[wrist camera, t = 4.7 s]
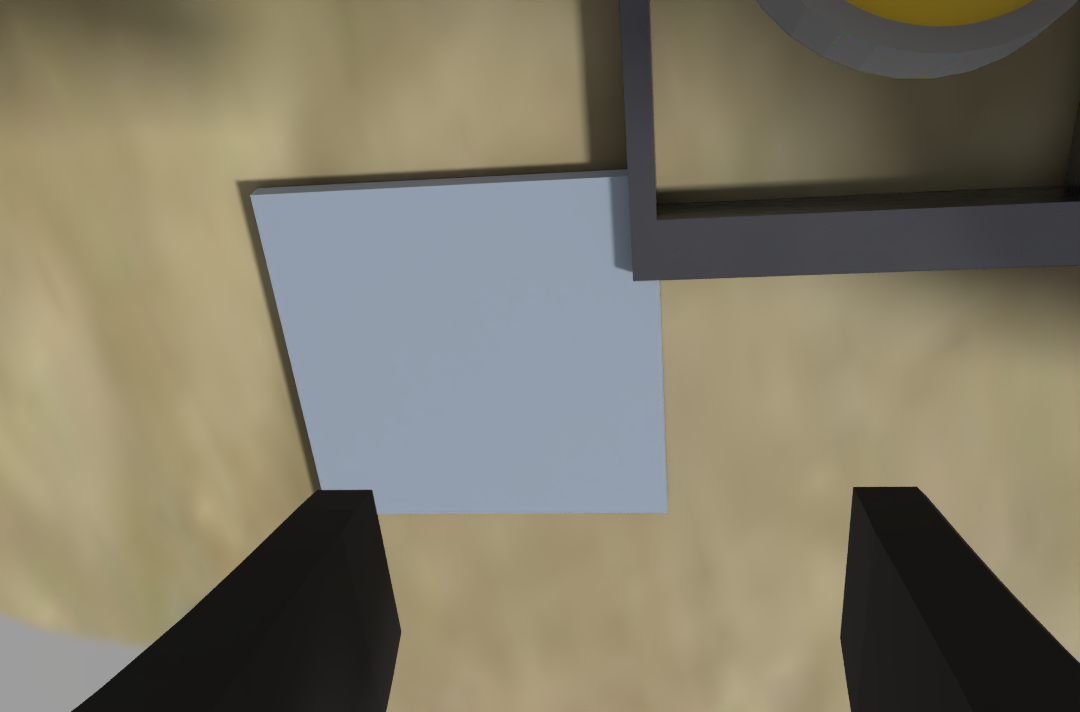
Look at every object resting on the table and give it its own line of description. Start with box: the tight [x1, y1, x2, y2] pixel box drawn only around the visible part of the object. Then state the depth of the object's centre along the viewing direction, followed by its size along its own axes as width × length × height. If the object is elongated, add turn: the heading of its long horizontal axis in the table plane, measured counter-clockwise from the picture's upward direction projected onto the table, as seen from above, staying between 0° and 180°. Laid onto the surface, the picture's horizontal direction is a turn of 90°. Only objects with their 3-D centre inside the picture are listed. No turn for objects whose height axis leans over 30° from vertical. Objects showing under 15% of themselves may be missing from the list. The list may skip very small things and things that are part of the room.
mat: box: [250, 169, 667, 514], centre depth 22 cm, size 8×8×1 cm
